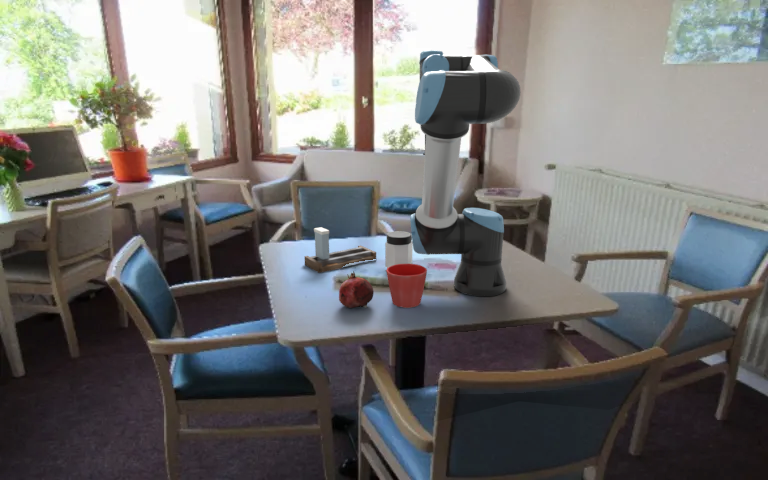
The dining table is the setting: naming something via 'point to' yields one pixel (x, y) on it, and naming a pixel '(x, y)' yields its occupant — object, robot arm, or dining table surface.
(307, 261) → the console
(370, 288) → the fruit
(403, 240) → the jar
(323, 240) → the slider tab
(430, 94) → the robot arm
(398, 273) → the flower pot
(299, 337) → the dining table surface
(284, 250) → the dining table surface
